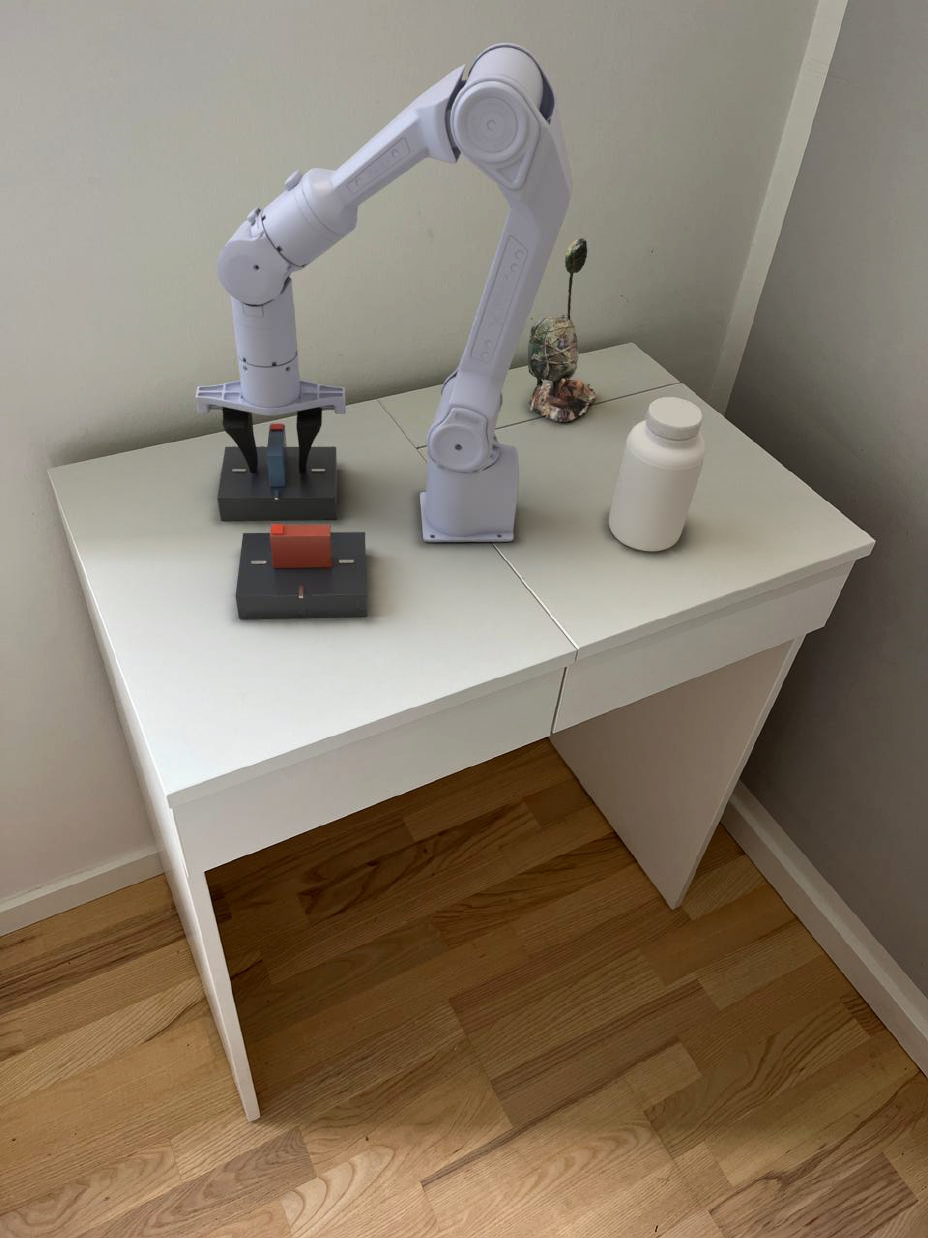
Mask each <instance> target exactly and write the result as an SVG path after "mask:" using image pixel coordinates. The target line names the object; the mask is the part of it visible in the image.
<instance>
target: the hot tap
mask: <svg viewBox="0 0 928 1238" xmlns="http://www.w3.org/2000/svg"><path fill="white" fill-rule="evenodd" d="M331 532H332V531H331V525H330V524H284V523H272V524H271V525H270V530H269V533H270V542H271V551H272V560H273V568H319V567H332V549H331Z"/></svg>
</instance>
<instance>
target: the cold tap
mask: <svg viewBox="0 0 928 1238" xmlns="http://www.w3.org/2000/svg"><path fill="white" fill-rule="evenodd" d="M286 433H287V432H286V424H284V423H270V424H269V427H268V437H267V446H266V447H267V464H268V473H269V483H270V487H285V485H286V471H287V456H288V455H287V447H288V446H287V445H288V444H287V434H286Z"/></svg>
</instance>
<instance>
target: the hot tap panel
mask: <svg viewBox="0 0 928 1238" xmlns="http://www.w3.org/2000/svg"><path fill="white" fill-rule="evenodd" d="M331 549H332V567H319V568H273V560H272V551H271V542H270V532H242V537H241V547H240V554H239V564H238V572H237V578H236V579H237V580H236V588H235V603H236V609H237V616H238V619H239V620H250V619H252V620H255V619H256V620H257V619H258V620H259V619H311V618H312V619H313V618H366V617H367V616H368V615H367V614H368V612H367V611H368V610H367V608H368V606H367V603H368V602H367V557H366V555H367V554H366V552H367V551H366V550H367V549H366V532H365V531H333V532H332V531H331Z"/></svg>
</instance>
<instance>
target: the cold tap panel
mask: <svg viewBox="0 0 928 1238" xmlns="http://www.w3.org/2000/svg"><path fill="white" fill-rule="evenodd" d="M256 448H257V455H258V466H257V473H250V470H249V467H248V465H247V462H246V460H245V458H244V456H243V454H242V452H241V450H240V449H239V447H238V446H225V447H224V453H223V459H222V464H221V472H220V479H219V485H218V491H217V505H218V511H219V518H220V521H322V520H323V521H329V520H330V521H331V520H332V521H333V520H334V521H335V520H337V511H338V510H337V509H338V503H337V502H338V456H337V446H311V449H310V452H309V455H308V459H307V464H306V473H299V446H287V455H288V456H287V471H286V485H285V487H270V483H269V473H268V464H267V446H256Z"/></svg>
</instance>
